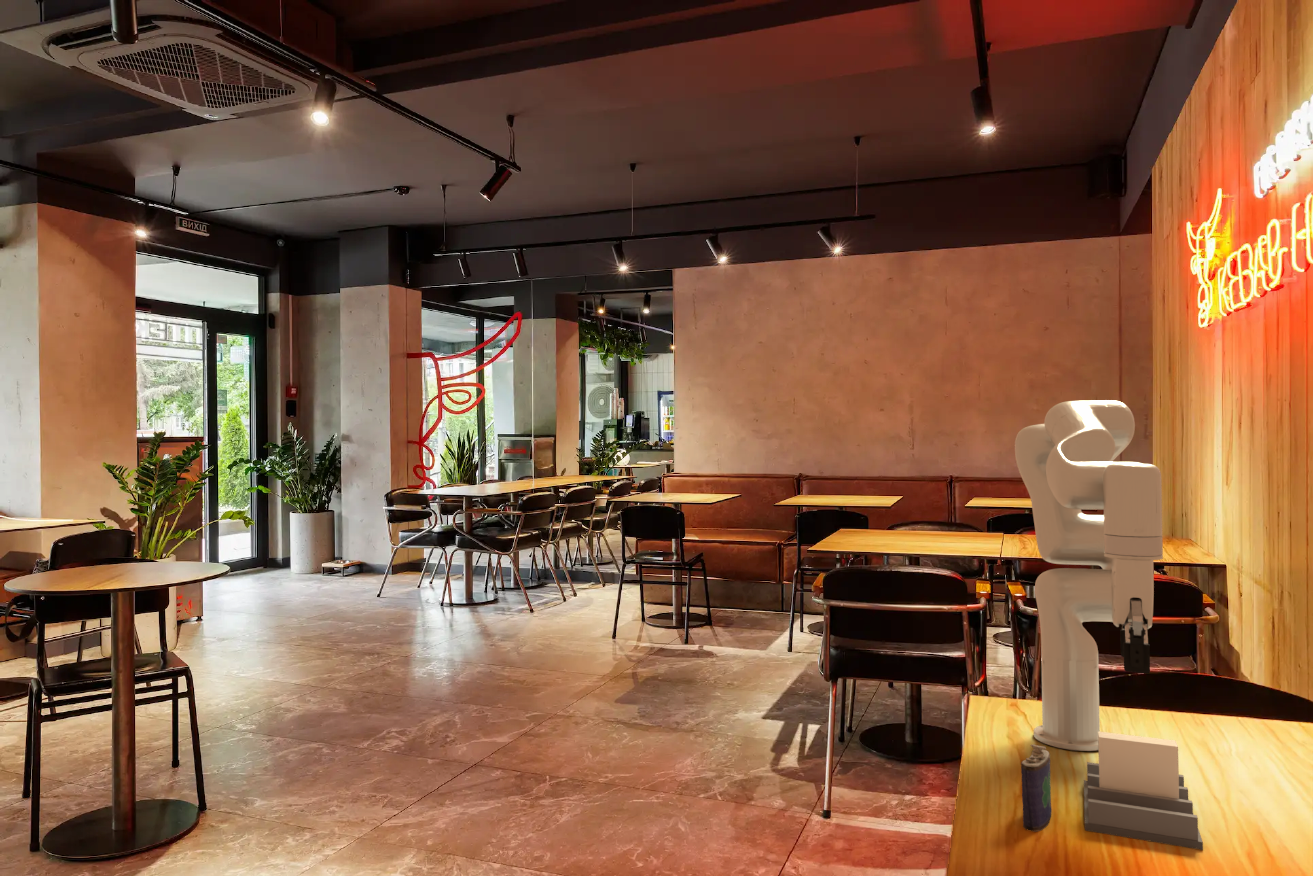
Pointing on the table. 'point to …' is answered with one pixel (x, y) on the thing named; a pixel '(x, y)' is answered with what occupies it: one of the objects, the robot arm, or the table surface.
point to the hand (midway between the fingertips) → (1134, 664)
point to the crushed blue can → (1036, 789)
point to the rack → (1140, 814)
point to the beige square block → (1138, 764)
